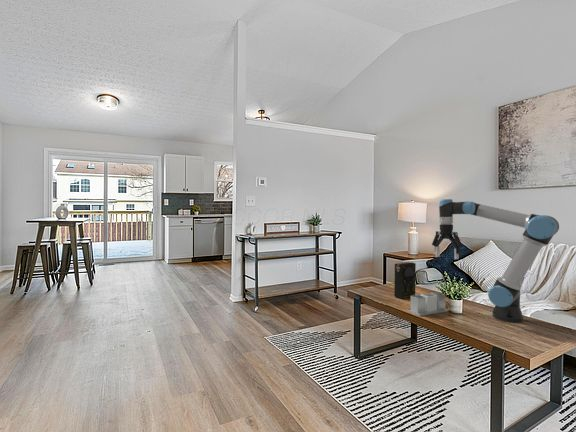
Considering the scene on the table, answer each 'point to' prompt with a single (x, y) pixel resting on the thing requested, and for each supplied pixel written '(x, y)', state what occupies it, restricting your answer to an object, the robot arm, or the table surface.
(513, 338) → the table surface
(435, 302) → the module
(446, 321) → the table surface
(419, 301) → the grey stepped block
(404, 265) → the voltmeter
